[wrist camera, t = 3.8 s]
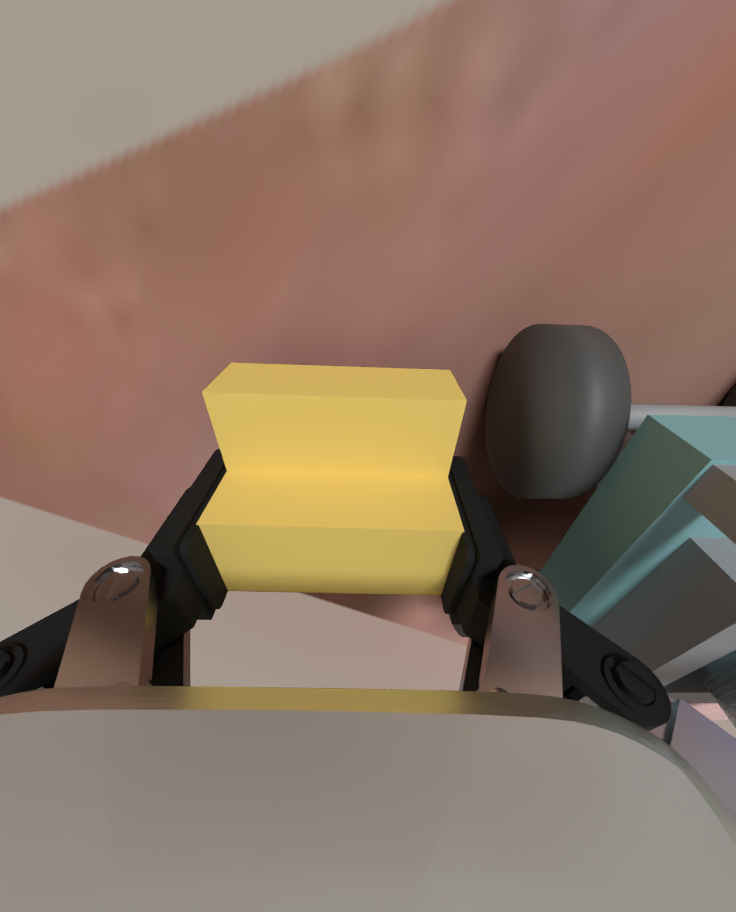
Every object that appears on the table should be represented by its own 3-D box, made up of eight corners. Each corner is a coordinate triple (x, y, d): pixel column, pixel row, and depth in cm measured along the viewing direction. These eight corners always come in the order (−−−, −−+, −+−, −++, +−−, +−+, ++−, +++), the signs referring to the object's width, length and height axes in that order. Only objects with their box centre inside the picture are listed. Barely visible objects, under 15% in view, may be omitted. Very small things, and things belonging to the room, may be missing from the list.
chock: (424, 500, 13) (442, 595, 9) (263, 496, 12) (226, 590, 9) (449, 370, 9) (492, 447, 6) (231, 362, 9) (156, 437, 6)
